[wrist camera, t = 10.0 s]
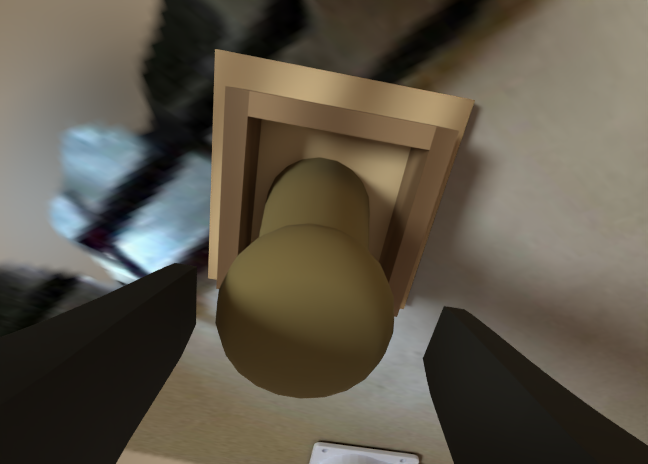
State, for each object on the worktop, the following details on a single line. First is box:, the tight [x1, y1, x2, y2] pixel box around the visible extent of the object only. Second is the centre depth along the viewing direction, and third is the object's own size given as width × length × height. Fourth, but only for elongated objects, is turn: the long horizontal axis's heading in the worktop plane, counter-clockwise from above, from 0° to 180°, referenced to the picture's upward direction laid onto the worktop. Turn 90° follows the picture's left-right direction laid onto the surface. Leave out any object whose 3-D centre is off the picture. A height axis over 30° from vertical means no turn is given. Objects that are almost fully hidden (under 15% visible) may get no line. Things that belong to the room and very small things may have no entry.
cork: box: [216, 157, 394, 398], centre depth 13 cm, size 6×6×11 cm
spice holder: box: [208, 49, 475, 317], centre depth 16 cm, size 13×13×4 cm
